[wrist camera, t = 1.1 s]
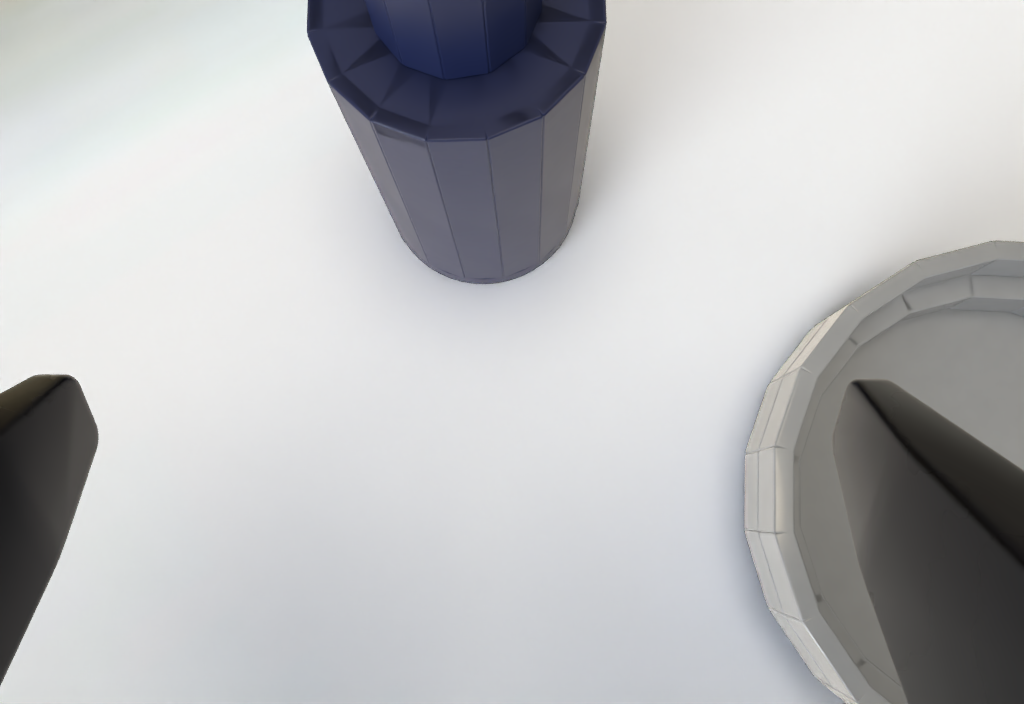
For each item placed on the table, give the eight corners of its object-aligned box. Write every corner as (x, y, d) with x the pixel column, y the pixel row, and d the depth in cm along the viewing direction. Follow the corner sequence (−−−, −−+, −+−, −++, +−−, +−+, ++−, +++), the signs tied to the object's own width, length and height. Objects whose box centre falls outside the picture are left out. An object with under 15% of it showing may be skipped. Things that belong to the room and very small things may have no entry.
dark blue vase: (537, 311, 24) (544, 116, 12) (363, 246, 24) (204, -5, 12) (603, 145, 25) (670, -190, 13) (435, 85, 25) (349, -290, 13)
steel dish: (1161, 845, 21) (1275, 905, 18) (675, 645, 22) (699, 669, 19) (1270, 372, 23) (1388, 351, 20) (822, 214, 24) (866, 170, 21)
